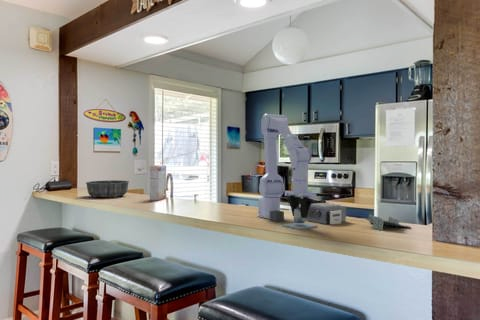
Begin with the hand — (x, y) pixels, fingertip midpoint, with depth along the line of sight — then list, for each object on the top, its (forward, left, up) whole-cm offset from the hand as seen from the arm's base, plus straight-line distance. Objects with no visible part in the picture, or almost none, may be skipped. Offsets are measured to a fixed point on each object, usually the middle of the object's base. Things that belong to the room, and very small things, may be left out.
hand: (299, 216), depth 134 cm
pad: (0, 0, -4) cm, 4 cm away
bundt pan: (-144, -30, -4) cm, 147 cm away
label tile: (+4, +16, -4) cm, 17 cm away
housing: (-4, +18, -4) cm, 19 cm away
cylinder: (0, 0, -2) cm, 2 cm away
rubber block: (-14, +1, -4) cm, 15 cm away
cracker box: (-112, -9, -4) cm, 112 cm away
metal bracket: (+18, +26, -4) cm, 32 cm away
